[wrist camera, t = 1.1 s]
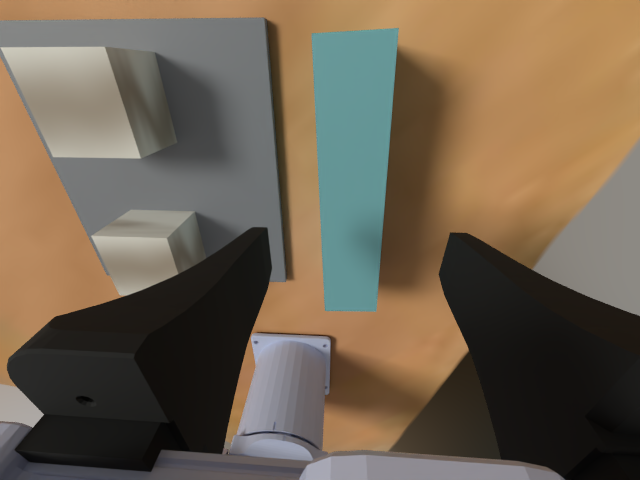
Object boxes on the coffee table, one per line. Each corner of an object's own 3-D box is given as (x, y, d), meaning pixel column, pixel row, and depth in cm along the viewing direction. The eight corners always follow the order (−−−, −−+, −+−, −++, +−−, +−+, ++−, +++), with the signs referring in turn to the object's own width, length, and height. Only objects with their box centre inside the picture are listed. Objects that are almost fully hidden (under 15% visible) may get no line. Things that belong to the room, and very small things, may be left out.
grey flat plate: (286, 277, 25) (285, 282, 24) (111, 271, 26) (107, 275, 25) (266, 19, 16) (264, 17, 15) (-6, 22, 16) (-18, 20, 16)
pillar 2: (208, 265, 24) (186, 297, 20) (150, 263, 24) (119, 295, 21) (194, 211, 21) (166, 238, 18) (130, 209, 22) (91, 235, 18)
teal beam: (369, 268, 24) (376, 311, 20) (327, 268, 24) (324, 310, 20) (382, 39, 16) (398, 28, 12) (318, 43, 16) (311, 33, 12)
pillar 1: (177, 142, 19) (140, 158, 15) (105, 141, 19) (53, 157, 16) (154, 51, 16) (104, 46, 13) (71, 52, 16) (0, 47, 13)
